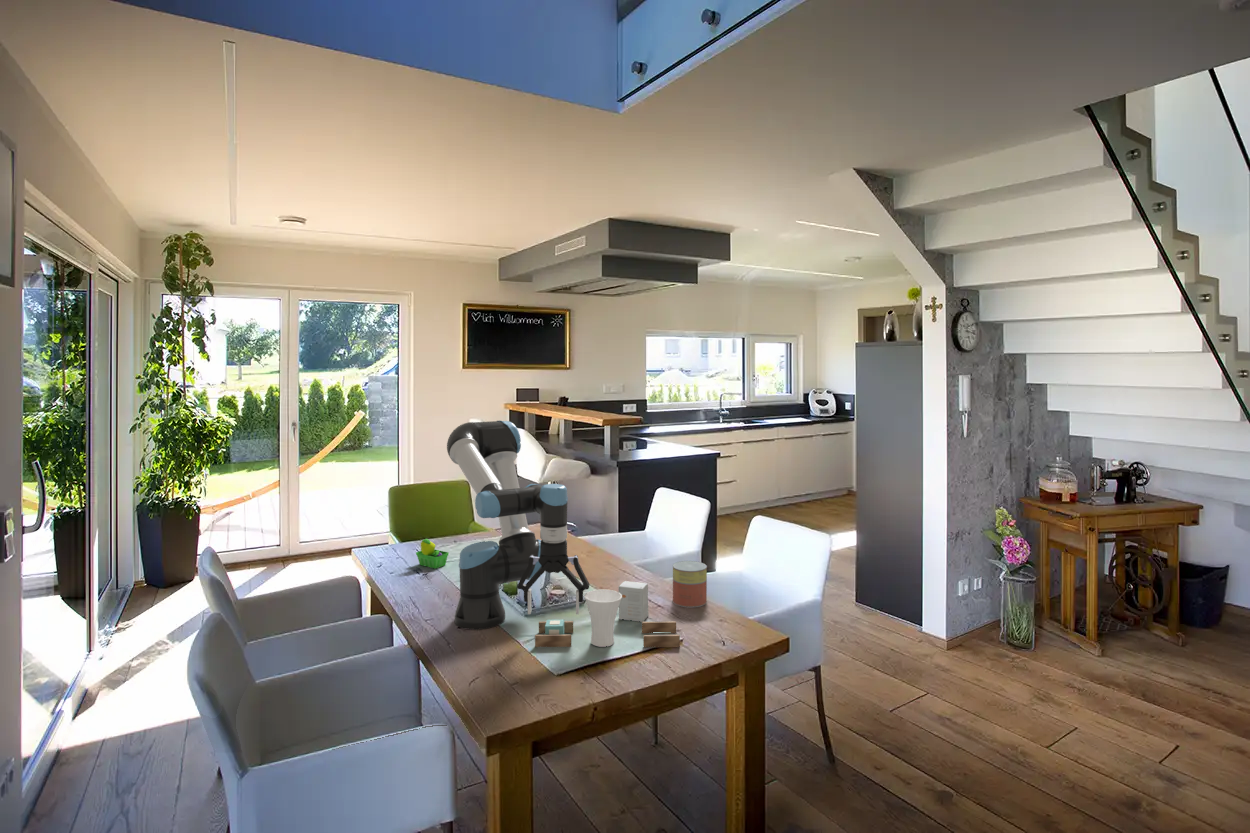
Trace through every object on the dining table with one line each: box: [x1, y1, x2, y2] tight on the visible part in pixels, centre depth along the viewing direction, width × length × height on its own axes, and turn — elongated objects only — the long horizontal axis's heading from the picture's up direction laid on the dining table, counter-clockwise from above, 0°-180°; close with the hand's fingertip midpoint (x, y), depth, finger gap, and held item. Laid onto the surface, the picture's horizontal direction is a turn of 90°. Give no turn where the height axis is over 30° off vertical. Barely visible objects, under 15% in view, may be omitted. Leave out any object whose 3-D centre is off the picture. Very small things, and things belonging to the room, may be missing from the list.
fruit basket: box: [415, 538, 450, 569], centre depth 264 cm, size 11×9×11 cm
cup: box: [584, 588, 622, 648], centre depth 190 cm, size 10×10×14 cm
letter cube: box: [544, 619, 565, 635], centre depth 192 cm, size 5×5×5 cm
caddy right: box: [641, 620, 681, 648], centre depth 192 cm, size 10×11×3 cm
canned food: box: [672, 560, 708, 608], centre depth 223 cm, size 11×11×12 cm
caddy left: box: [534, 620, 574, 648], centre depth 193 cm, size 10×11×3 cm
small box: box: [617, 580, 649, 623], centre depth 209 cm, size 8×6×10 cm
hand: (553, 612), depth 193 cm, fingers open, 13 cm apart
